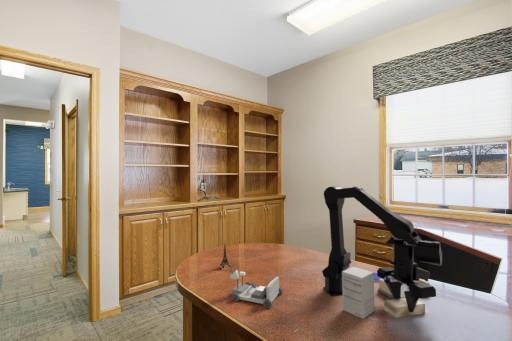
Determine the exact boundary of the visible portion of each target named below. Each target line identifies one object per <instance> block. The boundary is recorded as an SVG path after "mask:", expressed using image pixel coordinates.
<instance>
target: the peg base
mask: <svg viewBox="0 0 512 341" xmlns="http://www.w3.org/2000/svg"><path fill="white" fill-rule="evenodd" d="M414 282H415V283H420V282H425V283H427V284H429V285H431V282H429V281H428V282H427V281H425V280H422V279H419V281H416V280H414ZM377 290H378V291H379V292H381V294H384V295H386V296H387V297H389V298H390V299H391V300H393V299H394V298H393V296H392V294H391V292H390V290H389V288H388V287H387V285H386V283H385V282H384V280H383V279H379V282H378V289H377ZM404 291H409V286H407V285H405V284H403V285H402V286H401V298H405V294H404Z"/></svg>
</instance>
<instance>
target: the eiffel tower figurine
mask: <svg viewBox="0 0 512 341" xmlns="http://www.w3.org/2000/svg"><path fill="white" fill-rule="evenodd" d="M223 245H224V247H223V256H222V261H221V263H219V264H220V266H222V268H224V266H225V265H228V266H229V267H231V268H232V266H230V265H229V264H230V262H229V261H228V256H227V249H226V243H223Z"/></svg>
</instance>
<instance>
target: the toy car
mask: <svg viewBox="0 0 512 341" xmlns="http://www.w3.org/2000/svg"><path fill="white" fill-rule="evenodd" d="M230 272H231V274H230V275H229V277H228V278H230V279H231V280H236V283H237V284H236V286H234V287H233V288H231V293H232V294H231V297H230V298H231V301H232V300H235V301H234V302H239V301H240V300H241V301H247V302H251V303H257V304H260V305H263V307H264V308H268V309H271V308H272V306H273V301H274V300H275V299H276V298H277V296H281V295H282V294H283V289H282V287H281V286H280V276H275V277H274V278H273V279H272V280H271V281H270V282H269V283H268V284H267V285H265V286H264V285H259V286H257V284H256V282H254V281H253V282H252V283H251V282H250V281H246V282H245V283H244V276H246V271H238V269H236V270H234V271H233V270H232V269H230ZM239 276H241V282H240V283H239V278H240V277H239ZM278 294H279V295H278Z"/></svg>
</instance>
